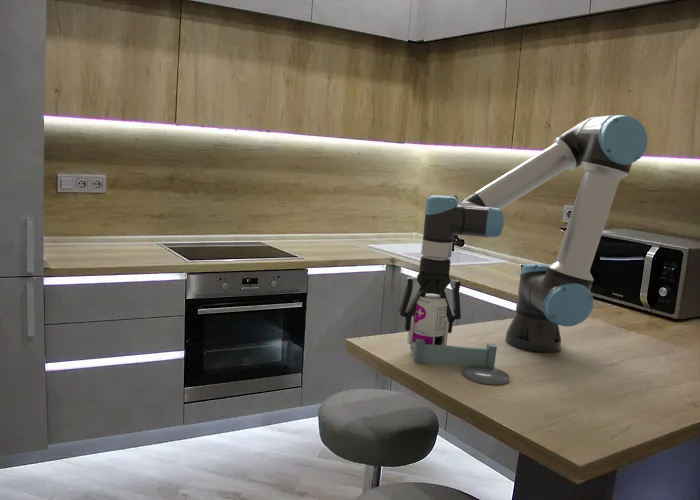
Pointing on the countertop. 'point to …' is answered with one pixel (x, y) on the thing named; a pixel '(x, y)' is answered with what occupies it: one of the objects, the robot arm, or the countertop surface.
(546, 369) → the countertop surface
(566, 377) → the countertop surface
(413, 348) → the supplement can
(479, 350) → the handle
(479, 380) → the coaster
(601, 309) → the countertop surface
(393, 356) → the countertop surface
